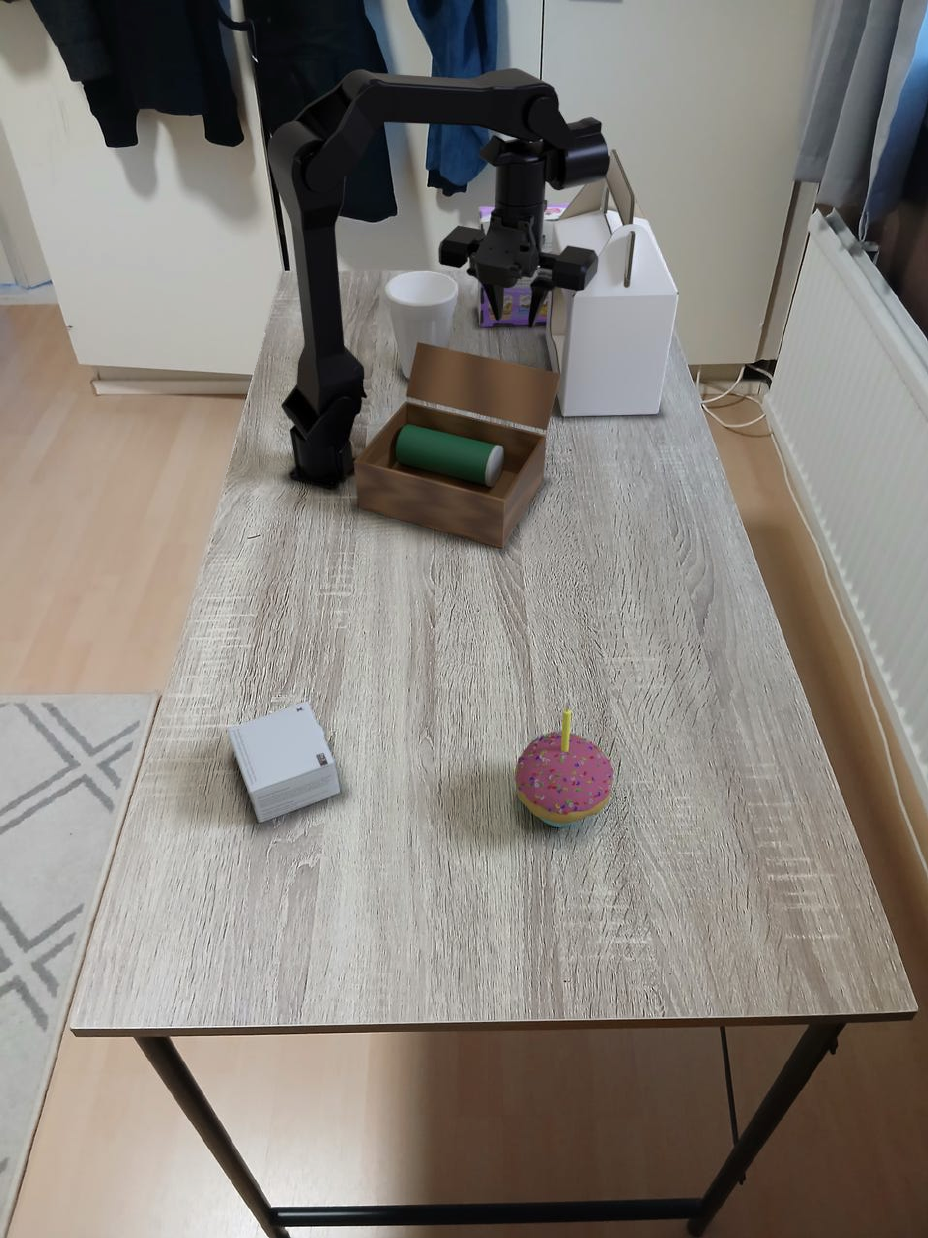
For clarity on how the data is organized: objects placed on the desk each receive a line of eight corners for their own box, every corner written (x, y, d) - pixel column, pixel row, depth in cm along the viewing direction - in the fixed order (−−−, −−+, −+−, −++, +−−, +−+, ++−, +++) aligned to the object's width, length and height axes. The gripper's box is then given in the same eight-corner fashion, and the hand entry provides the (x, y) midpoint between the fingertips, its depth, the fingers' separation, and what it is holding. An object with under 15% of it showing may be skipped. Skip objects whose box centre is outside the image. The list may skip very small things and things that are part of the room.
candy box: (563, 306, 147) (571, 201, 136) (568, 325, 143) (577, 218, 132) (476, 309, 147) (477, 203, 135) (479, 327, 143) (480, 220, 131)
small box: (235, 759, 87) (225, 726, 83) (315, 731, 89) (309, 697, 85) (258, 826, 82) (248, 793, 78) (342, 794, 84) (336, 761, 80)
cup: (472, 367, 135) (472, 281, 125) (434, 399, 129) (431, 312, 119) (415, 348, 138) (412, 263, 129) (376, 379, 133) (369, 292, 123)
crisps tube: (401, 420, 114) (496, 443, 110) (416, 426, 119) (507, 448, 115) (391, 461, 115) (485, 485, 111) (406, 465, 119) (496, 489, 116)
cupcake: (507, 769, 86) (512, 685, 77) (598, 762, 86) (613, 678, 78) (519, 851, 80) (525, 770, 71) (616, 843, 80) (634, 762, 72)
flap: (417, 341, 114) (418, 342, 115) (405, 396, 116) (406, 396, 116) (560, 373, 109) (561, 373, 109) (546, 430, 110) (547, 430, 111)
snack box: (358, 507, 112) (353, 461, 107) (408, 446, 121) (405, 400, 116) (502, 548, 107) (504, 501, 102) (543, 481, 116) (546, 435, 111)
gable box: (545, 335, 141) (558, 139, 121) (631, 333, 141) (659, 137, 121) (561, 418, 126) (580, 209, 106) (658, 416, 126) (695, 207, 106)
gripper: (416, 210, 104) (421, 337, 115) (574, 238, 99) (563, 369, 110) (456, 175, 111) (457, 298, 122) (606, 199, 106) (592, 326, 117)
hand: (514, 322), depth 118 cm, fingers open, 4 cm apart
